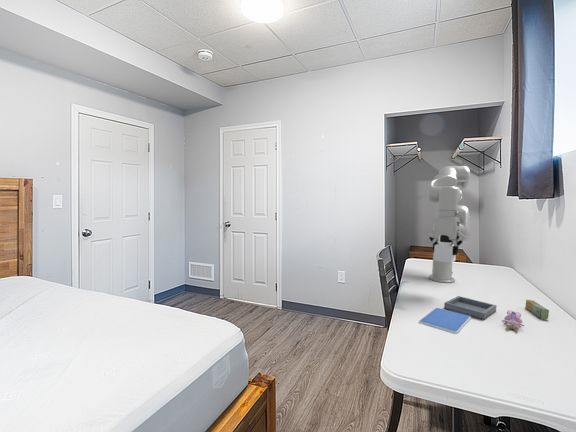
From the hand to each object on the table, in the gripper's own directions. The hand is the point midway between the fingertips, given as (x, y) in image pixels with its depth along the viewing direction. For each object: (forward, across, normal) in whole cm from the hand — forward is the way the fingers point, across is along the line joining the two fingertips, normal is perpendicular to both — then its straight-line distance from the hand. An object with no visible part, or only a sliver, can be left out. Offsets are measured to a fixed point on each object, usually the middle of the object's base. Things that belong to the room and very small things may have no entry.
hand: (444, 253), depth 134 cm
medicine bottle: (+4, 0, 0) cm, 4 cm away
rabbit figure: (+20, -29, +11) cm, 37 cm away
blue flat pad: (+21, -13, +27) cm, 36 cm away
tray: (+20, -14, +8) cm, 26 cm away
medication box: (+20, -32, -9) cm, 39 cm away
